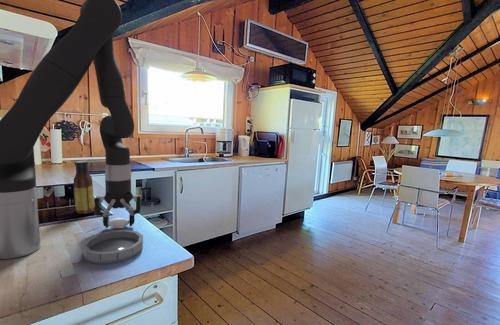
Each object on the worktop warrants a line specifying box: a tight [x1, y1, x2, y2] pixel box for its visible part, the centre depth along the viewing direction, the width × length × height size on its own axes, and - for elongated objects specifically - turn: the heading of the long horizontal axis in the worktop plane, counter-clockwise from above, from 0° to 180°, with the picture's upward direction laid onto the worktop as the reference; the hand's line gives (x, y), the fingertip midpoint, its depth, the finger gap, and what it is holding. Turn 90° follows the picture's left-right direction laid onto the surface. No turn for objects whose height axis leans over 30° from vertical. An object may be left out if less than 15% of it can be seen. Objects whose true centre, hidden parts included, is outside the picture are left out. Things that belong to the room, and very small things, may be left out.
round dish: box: [81, 229, 144, 265], centre depth 72 cm, size 15×15×3 cm
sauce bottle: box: [73, 160, 95, 215], centre depth 99 cm, size 7×6×20 cm
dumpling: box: [108, 217, 130, 229], centre depth 87 cm, size 7×5×4 cm
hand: (119, 226), depth 87 cm, fingers closed on dumpling, 6 cm apart
